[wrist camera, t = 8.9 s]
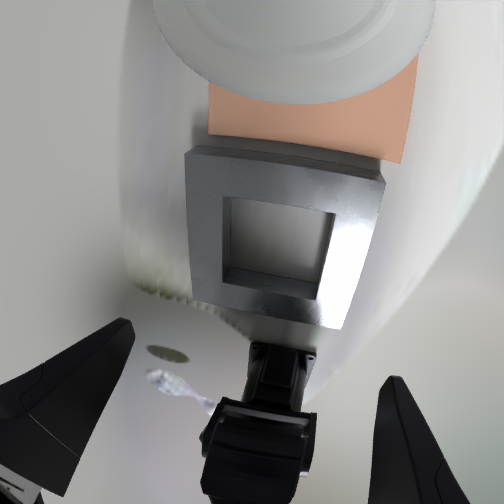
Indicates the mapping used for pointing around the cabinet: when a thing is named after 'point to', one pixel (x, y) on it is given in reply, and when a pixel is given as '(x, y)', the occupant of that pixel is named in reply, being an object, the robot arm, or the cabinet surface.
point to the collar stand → (287, 193)
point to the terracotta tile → (324, 119)
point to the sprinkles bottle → (296, 44)
